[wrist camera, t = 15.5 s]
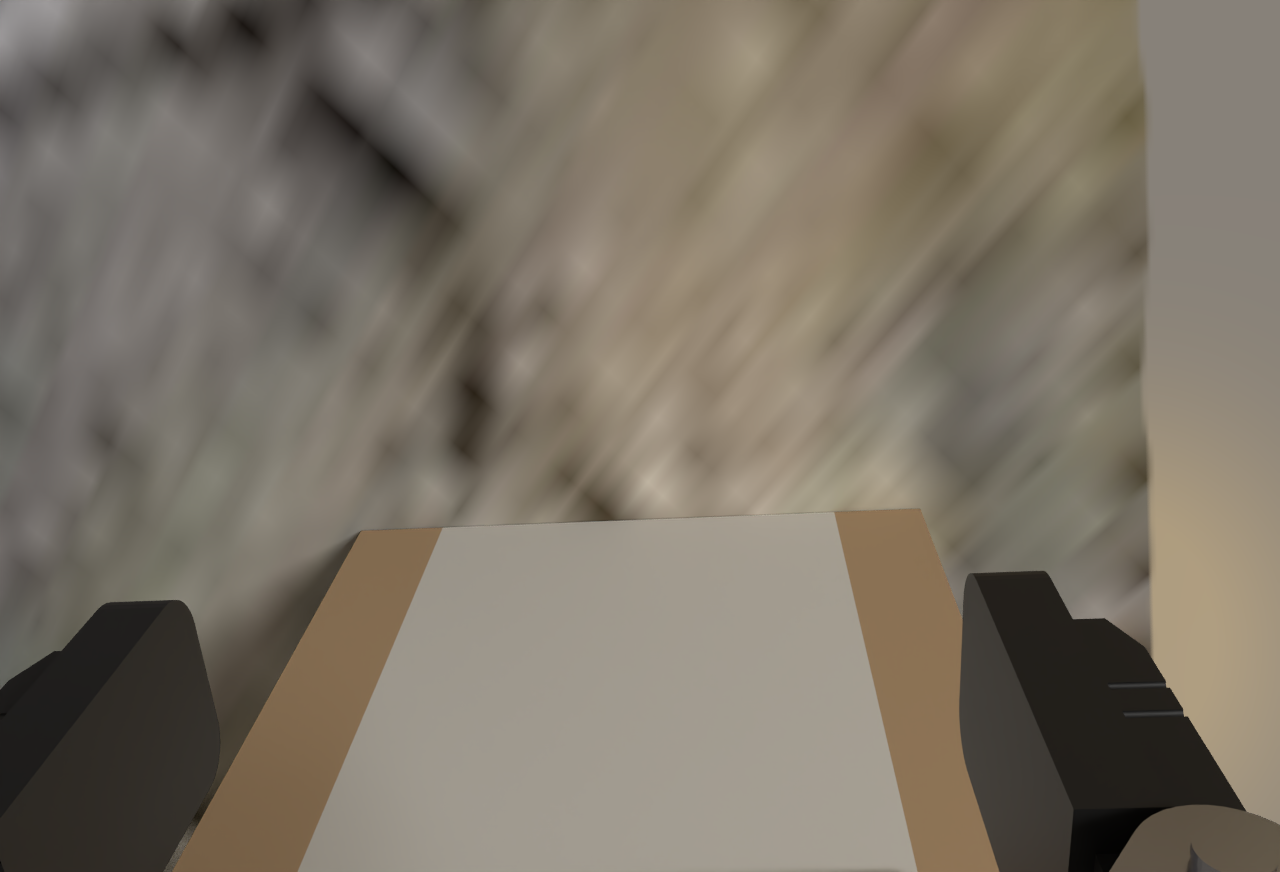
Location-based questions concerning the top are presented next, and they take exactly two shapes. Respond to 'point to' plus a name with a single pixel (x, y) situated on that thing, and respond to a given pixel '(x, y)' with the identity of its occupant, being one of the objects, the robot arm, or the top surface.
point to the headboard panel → (616, 706)
